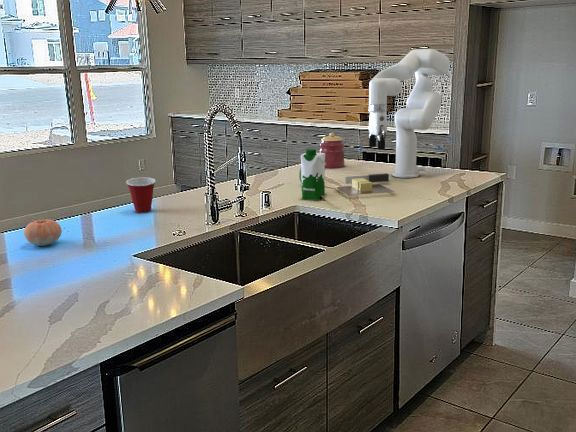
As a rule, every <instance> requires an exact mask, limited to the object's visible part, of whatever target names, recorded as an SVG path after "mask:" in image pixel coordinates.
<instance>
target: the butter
mask: <svg viewBox="0 0 576 432" xmlns="http://www.w3.org/2000/svg"><path fill="white" fill-rule="evenodd" d="M361 182H369V181H368V180H365V179H363V178H360V179H352V183H351V186H352V187H353V188H354V189H356V190H359V183H361Z"/></svg>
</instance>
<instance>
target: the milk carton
mask: <svg viewBox="0 0 576 432" xmlns="http://www.w3.org/2000/svg"><path fill="white" fill-rule="evenodd" d="M300 168H301V175H302V183H301V200H307V201H308V200H309V201H320V200H321V199H323V198H324V197H323V196H324V195H325V194H326V193H325V191H326V189H325V187H326V186H325V185H326V180H325V179H326V177H325V175H326V172H325V171H326V170H325V169H326V168H325V153H320V152H317V149H316V148H307V149H305V152H304V153H302V154H300Z"/></svg>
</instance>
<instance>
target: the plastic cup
mask: <svg viewBox="0 0 576 432" xmlns="http://www.w3.org/2000/svg"><path fill="white" fill-rule="evenodd" d="M156 182H157V181H156V179H155V178H153V177H144V176H141V177H132V178H130V179H127V180H126V181H125V183H126V185H127V187H128V190H129V193H130V197H131V201H132V205H133V208H134V211H135V213H138V214H145V213H149V212H152V206H153V205H152V204H153V196H154V188H155V184H156Z"/></svg>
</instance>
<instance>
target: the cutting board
mask: <svg viewBox="0 0 576 432" xmlns="http://www.w3.org/2000/svg"><path fill="white" fill-rule="evenodd" d="M335 188H336V189H338V190H340V191H341V192H343V193H344V194H347V196H357V195H371V194H382V193H395V192H396V191H395V190H393V189H391V188H388V187H386V186H385V185H383V184H380V183H376V184H375V183H374V184H373V183H372V191H366V192H360V191H359V190H356V189H354V188H353V187H352V185H348V186H337V187H335Z"/></svg>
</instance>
